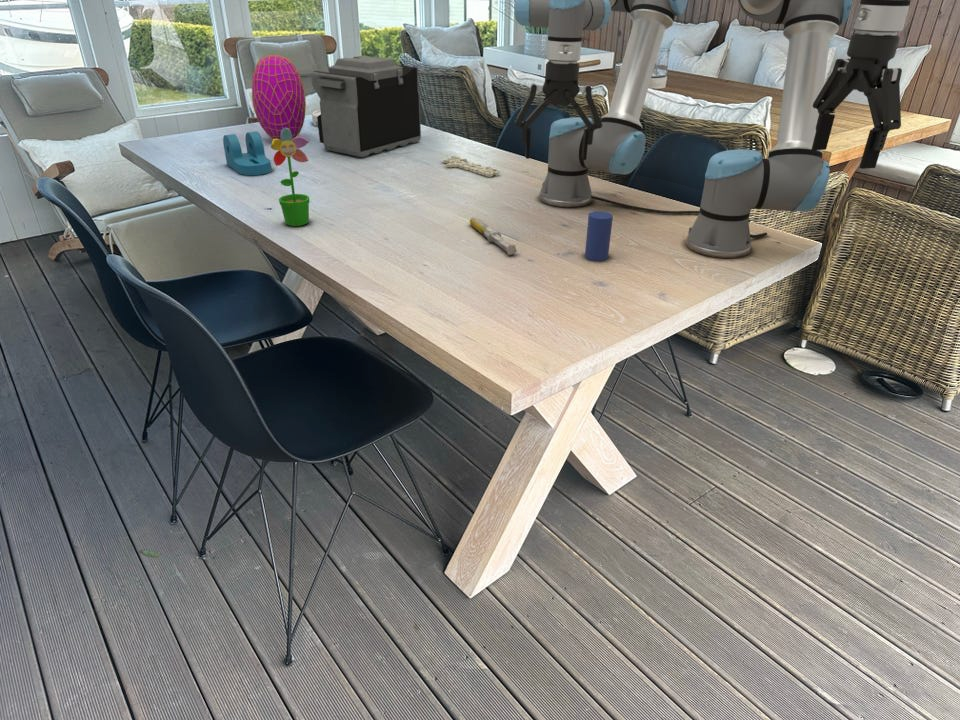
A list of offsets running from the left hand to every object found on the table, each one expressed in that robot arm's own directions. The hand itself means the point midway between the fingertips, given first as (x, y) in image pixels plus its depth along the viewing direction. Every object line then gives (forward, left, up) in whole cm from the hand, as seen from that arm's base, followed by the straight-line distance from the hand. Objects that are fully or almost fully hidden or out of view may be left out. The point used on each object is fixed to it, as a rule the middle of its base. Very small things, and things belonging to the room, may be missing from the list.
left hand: (555, 158), depth 164 cm
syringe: (+13, +6, -21) cm, 26 cm away
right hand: (-60, +12, +10) cm, 62 cm away
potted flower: (+65, +18, -21) cm, 71 cm away
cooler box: (+95, -63, -21) cm, 116 cm away
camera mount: (+113, -18, -21) cm, 116 cm away
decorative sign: (+48, -52, -21) cm, 74 cm away
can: (-14, +6, -21) cm, 26 cm away
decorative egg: (+129, -56, -21) cm, 142 cm away
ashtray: (+128, -92, -21) cm, 159 cm away
